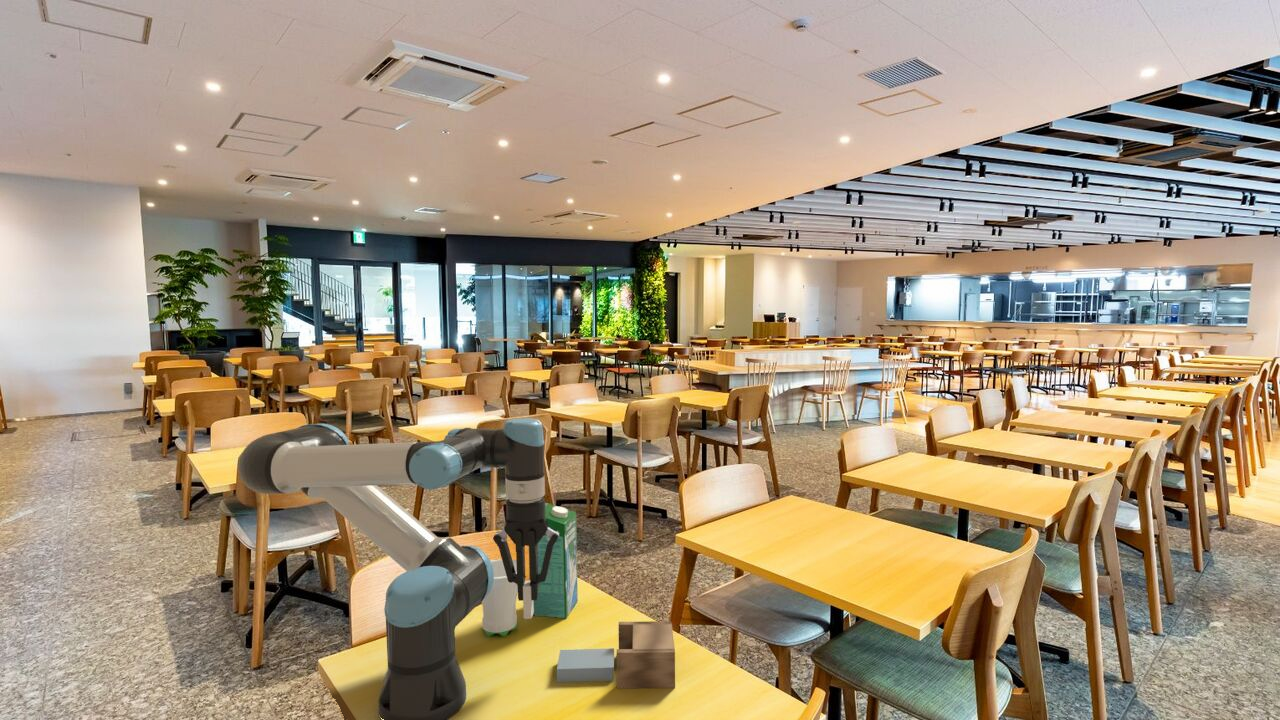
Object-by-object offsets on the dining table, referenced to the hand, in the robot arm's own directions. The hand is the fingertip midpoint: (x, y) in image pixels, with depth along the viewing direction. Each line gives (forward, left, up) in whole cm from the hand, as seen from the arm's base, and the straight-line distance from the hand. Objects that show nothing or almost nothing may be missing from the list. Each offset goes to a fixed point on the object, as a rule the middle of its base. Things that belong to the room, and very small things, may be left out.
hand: (528, 615), depth 123 cm
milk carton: (+1, +27, -12) cm, 30 cm away
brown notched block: (+23, 0, -12) cm, 26 cm away
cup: (-10, +17, -12) cm, 23 cm away
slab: (+11, 0, -12) cm, 16 cm away
